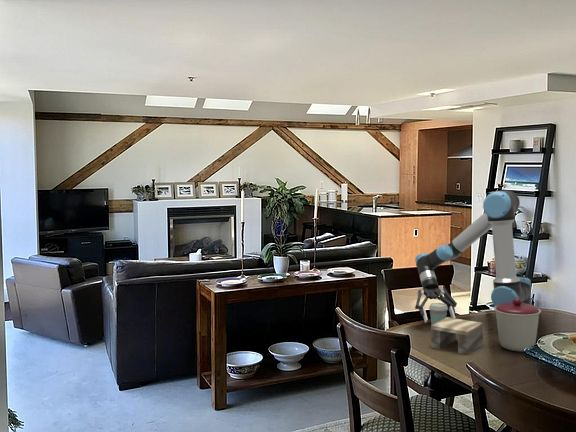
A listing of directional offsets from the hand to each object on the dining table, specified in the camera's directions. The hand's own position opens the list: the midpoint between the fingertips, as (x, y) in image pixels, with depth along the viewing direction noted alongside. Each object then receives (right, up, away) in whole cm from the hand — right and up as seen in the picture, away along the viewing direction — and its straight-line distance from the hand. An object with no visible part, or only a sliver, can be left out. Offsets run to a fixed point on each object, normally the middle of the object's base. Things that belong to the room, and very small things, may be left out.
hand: (440, 320), depth 258 cm
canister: (+25, -7, -26) cm, 37 cm away
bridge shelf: (+1, -7, -22) cm, 23 cm away
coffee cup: (0, -5, +3) cm, 6 cm away
